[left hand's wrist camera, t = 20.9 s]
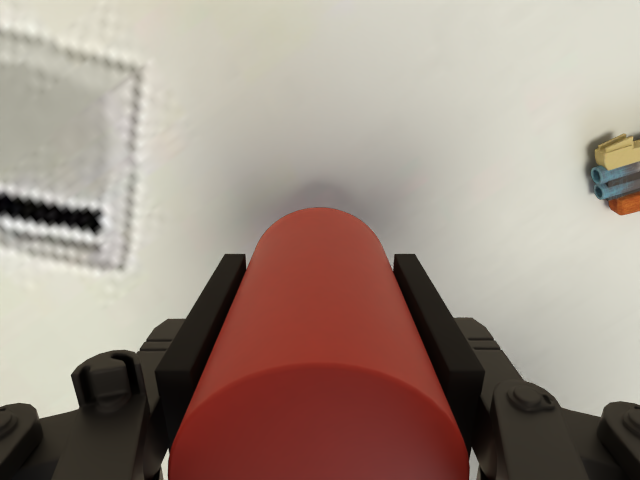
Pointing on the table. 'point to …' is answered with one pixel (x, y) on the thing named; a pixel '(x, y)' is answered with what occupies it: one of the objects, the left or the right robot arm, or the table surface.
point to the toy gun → (618, 174)
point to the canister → (319, 370)
